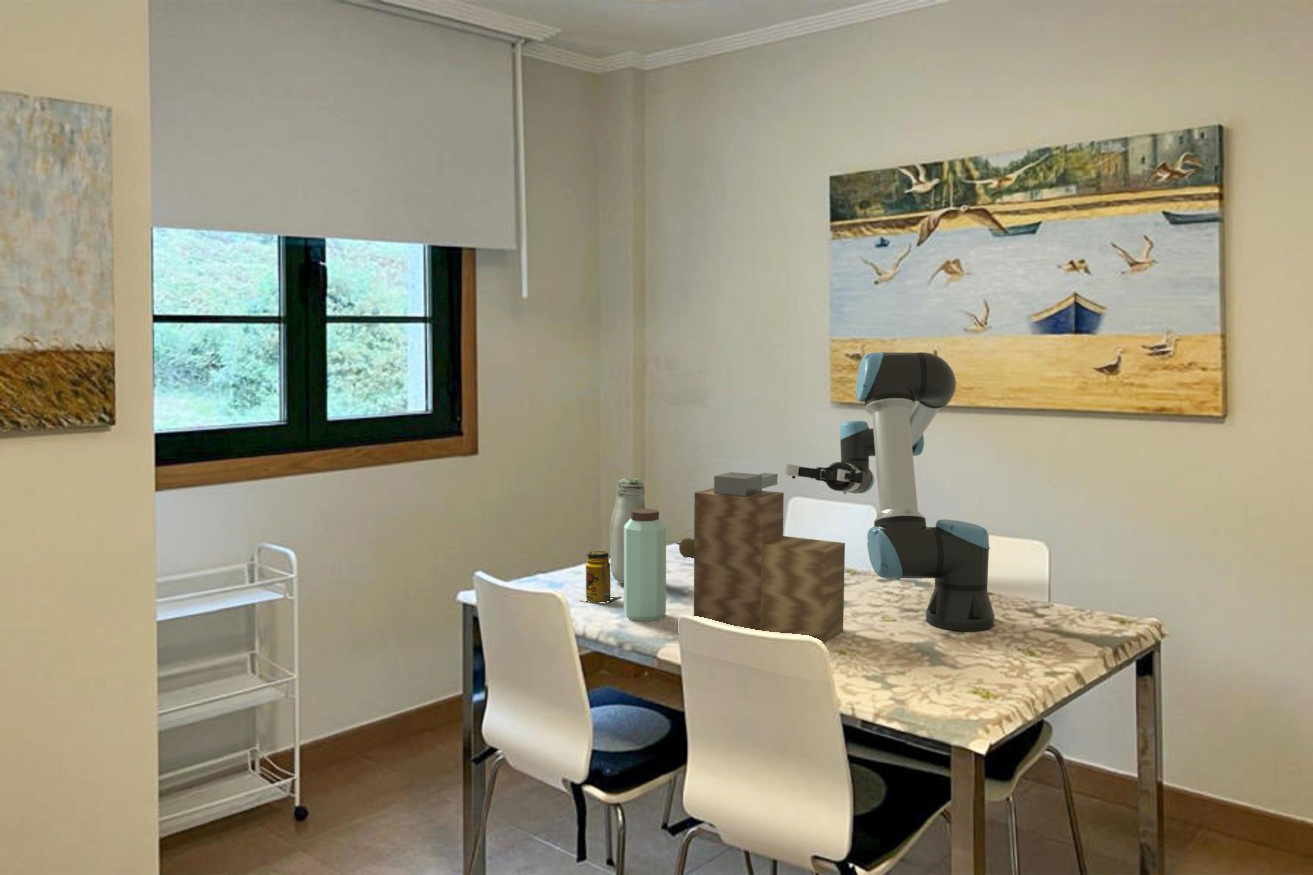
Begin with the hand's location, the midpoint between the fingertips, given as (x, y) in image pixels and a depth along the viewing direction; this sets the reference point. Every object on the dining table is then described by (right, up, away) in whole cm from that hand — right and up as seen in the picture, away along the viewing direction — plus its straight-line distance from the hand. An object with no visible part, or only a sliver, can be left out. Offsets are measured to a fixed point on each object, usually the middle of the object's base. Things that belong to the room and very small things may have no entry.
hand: (812, 472), depth 269 cm
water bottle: (-41, -34, -13) cm, 55 cm away
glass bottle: (-45, -30, +20) cm, 58 cm away
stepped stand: (-13, -34, -22) cm, 43 cm away
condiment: (-52, -32, +3) cm, 61 cm away
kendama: (-24, -27, +54) cm, 65 cm away
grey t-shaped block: (-17, -3, -16) cm, 23 cm away
